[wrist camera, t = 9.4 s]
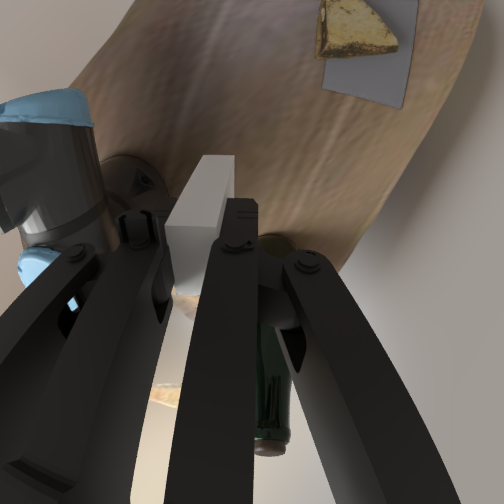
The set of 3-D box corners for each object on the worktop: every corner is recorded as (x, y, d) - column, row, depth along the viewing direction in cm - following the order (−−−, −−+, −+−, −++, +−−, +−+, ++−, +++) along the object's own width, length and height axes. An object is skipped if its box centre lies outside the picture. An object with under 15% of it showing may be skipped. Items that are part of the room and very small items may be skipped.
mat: (321, 88, 33) (322, 88, 33) (338, -35, 22) (339, -35, 21) (400, 109, 34) (401, 109, 34) (417, -7, 22) (418, -7, 22)
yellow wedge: (349, -32, 20) (381, 15, 20) (376, 3, 26) (404, 52, 26) (282, 2, 27) (300, 51, 27) (316, 29, 33) (335, 77, 33)
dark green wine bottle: (234, 273, 53) (211, 458, 27) (248, 225, 47) (227, 437, 20) (289, 285, 54) (297, 465, 28) (309, 241, 48) (339, 443, 22)
